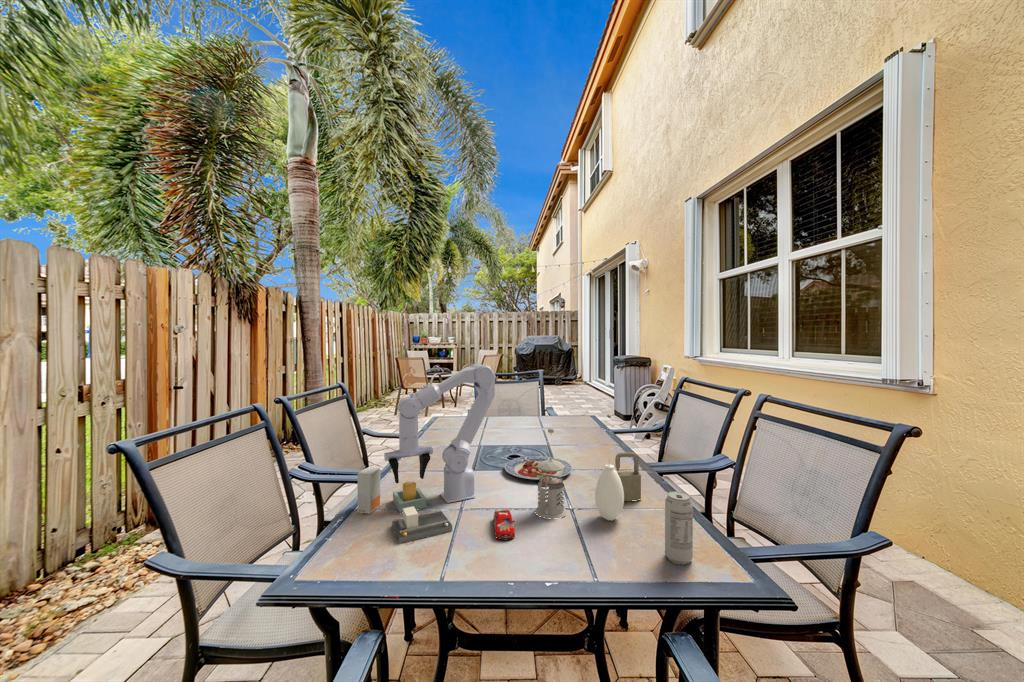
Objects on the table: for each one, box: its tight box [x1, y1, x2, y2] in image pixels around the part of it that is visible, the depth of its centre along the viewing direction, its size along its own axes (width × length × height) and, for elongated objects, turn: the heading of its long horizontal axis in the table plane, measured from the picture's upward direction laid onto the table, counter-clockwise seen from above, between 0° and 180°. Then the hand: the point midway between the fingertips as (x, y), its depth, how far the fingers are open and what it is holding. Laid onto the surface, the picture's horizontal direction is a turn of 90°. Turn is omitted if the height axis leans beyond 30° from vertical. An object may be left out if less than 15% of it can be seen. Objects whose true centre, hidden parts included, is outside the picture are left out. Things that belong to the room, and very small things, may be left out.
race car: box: [493, 508, 516, 541], centre depth 109 cm, size 13×5×4 cm, turn 5°
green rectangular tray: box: [392, 487, 427, 514], centre depth 124 cm, size 8×10×3 cm
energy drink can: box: [664, 490, 694, 565], centre depth 94 cm, size 6×6×15 cm
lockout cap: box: [402, 481, 417, 502], centre depth 124 cm, size 4×4×6 cm
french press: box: [534, 427, 568, 520], centre depth 118 cm, size 10×12×25 cm
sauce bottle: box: [594, 456, 625, 521], centre depth 114 cm, size 8×8×18 cm
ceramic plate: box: [503, 455, 573, 481], centre depth 153 cm, size 26×26×3 cm
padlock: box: [614, 451, 642, 501], centre depth 127 cm, size 4×8×15 cm, turn 91°
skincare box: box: [357, 466, 381, 515], centre depth 121 cm, size 6×4×12 cm
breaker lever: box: [402, 506, 419, 529], centre depth 107 cm, size 3×5×4 cm, turn 27°
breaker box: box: [391, 509, 453, 545], centre depth 109 cm, size 14×10×3 cm
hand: (409, 479), depth 124 cm, fingers open, 7 cm apart
